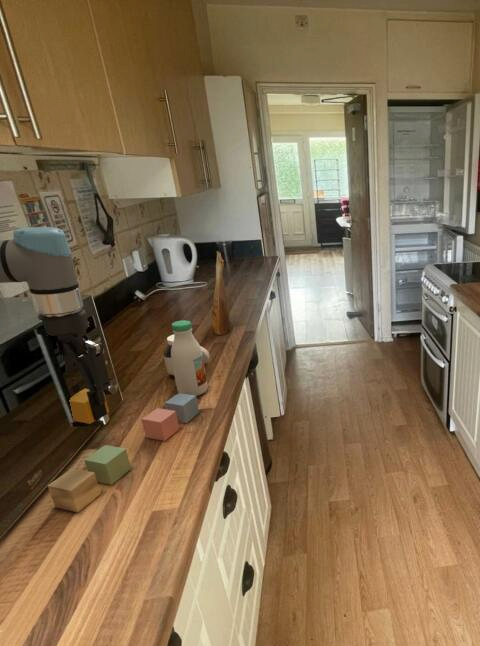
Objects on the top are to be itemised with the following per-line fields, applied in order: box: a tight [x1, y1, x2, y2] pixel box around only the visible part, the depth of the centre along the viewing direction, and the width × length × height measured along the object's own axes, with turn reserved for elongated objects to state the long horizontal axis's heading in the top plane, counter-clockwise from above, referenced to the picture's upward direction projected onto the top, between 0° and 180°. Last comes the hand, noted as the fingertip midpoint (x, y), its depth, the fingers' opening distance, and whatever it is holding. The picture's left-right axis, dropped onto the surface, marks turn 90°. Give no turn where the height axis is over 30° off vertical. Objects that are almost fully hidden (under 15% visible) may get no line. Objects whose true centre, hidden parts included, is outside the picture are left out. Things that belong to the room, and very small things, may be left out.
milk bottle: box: [171, 319, 209, 397], centre depth 114 cm, size 8×8×20 cm
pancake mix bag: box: [212, 250, 230, 336], centre depth 158 cm, size 7×19×28 cm, turn 16°
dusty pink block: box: [141, 407, 180, 442], centre depth 98 cm, size 5×5×5 cm
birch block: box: [47, 467, 102, 513], centre depth 78 cm, size 5×5×5 cm
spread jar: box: [163, 334, 211, 378], centre depth 127 cm, size 12×11×12 cm
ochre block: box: [69, 388, 110, 425], centre depth 90 cm, size 5×5×5 cm
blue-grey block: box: [164, 392, 200, 424], centre depth 105 cm, size 5×5×5 cm
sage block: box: [83, 444, 132, 486], centre depth 85 cm, size 5×5×5 cm
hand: (89, 414), depth 91 cm, fingers closed on ochre block, 5 cm apart
